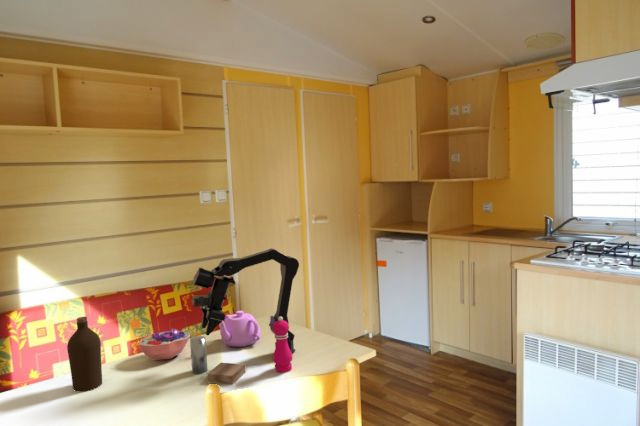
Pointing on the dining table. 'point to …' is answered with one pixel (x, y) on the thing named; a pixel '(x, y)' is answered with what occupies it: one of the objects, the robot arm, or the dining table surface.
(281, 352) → the pepper mill
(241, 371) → the walnut box
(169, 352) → the cell model
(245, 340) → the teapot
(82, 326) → the olive oil
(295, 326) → the dining table surface
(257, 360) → the dining table surface
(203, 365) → the tea tin
